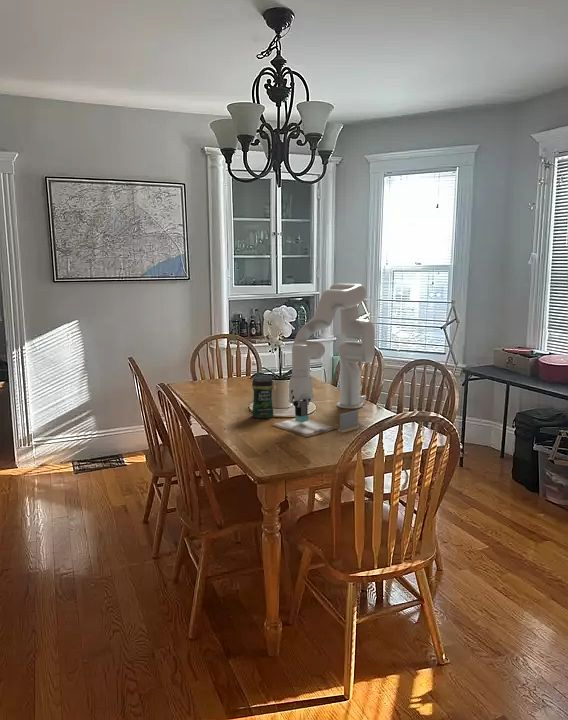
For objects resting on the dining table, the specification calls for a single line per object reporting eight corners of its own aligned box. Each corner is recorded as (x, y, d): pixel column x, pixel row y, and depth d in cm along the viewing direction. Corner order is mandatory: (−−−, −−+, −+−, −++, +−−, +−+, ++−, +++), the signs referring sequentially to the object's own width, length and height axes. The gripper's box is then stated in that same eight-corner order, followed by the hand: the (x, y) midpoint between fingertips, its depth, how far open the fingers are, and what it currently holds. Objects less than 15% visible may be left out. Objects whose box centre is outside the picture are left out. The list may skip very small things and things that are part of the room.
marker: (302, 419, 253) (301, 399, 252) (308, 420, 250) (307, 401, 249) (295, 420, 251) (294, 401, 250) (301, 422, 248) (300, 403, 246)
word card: (354, 426, 250) (354, 409, 249) (359, 428, 248) (359, 410, 246) (337, 431, 244) (337, 413, 242) (342, 432, 241) (343, 415, 240)
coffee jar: (253, 419, 262) (252, 379, 259) (251, 414, 270) (250, 375, 267) (274, 418, 264) (274, 378, 260) (272, 413, 272) (271, 374, 268)
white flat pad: (301, 418, 264) (301, 414, 264) (337, 429, 246) (337, 425, 246) (271, 425, 253) (271, 421, 253) (306, 437, 236) (306, 433, 235)
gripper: (309, 369, 255) (309, 409, 258) (280, 374, 245) (281, 416, 248) (321, 371, 249) (321, 413, 253) (292, 377, 239) (292, 420, 242)
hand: (301, 414), depth 250 cm, fingers closed on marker, 3 cm apart
